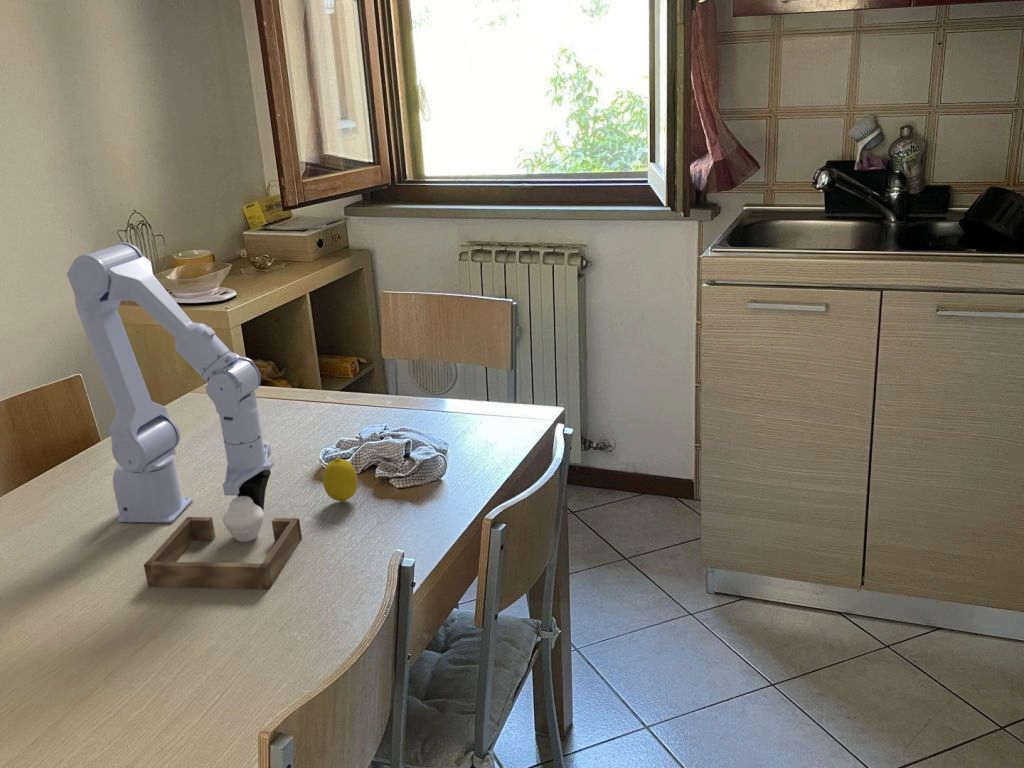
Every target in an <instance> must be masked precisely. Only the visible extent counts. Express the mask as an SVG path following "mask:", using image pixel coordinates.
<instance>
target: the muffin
mask: <svg viewBox="0 0 1024 768" xmlns="http://www.w3.org/2000/svg"><path fill="white" fill-rule="evenodd" d="M227 509H228V510H227V511H226V512H225V514H224V515H223V518H222V522H223V524H224V526H225V527H226V530H227V531H228V532H229V533H230V534H231V535H232V537H233V538H234V539H235V540H236V541H238V542H240V543H247V542H251V541H254V540H256V539H257V537H258V535H259V533H260V530H261V527H262V525H263V522H264V517H265V513H264V511H263V510H262V508H261V507H259V506H258V505H256V504H255V503H253V500H252V499H251V498H250V497H248V496H240V497H238V496H235V498H232V500H231V501H230V502H229V505H228V508H227Z"/></svg>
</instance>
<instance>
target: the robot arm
mask: <svg viewBox="0 0 1024 768" xmlns="http://www.w3.org/2000/svg"><path fill="white" fill-rule="evenodd" d="M66 276H67V279H68V282H69V284H70V286H71V289H72V292H73V294H74V302H75V308H76V311H77V313H78V316H79V320H80V322H81V324H82V326H83V330H84V331H85V334H86V338H87V339H88V342H89V345H90V347H91V349H92V353H93V355H94V357H95V361H96V363H97V366H98V368H99V371H100V374H101V376H102V378H103V381H104V384H105V387H106V389H107V391H108V393H109V396H110V399H111V402H112V404H113V407H114V409H115V416H114V418H113V420H112V422H111V424H110V427H109V430H108V433H109V436H110V439H111V453H112V456H113V458H114V460H115V462H116V463H117V466H116V467H115V469H114V472H113V477H112V487H113V491H114V496H115V501H116V505H117V510H118V514H119V517H118V518H117V521H118V523H170V524H171V523H173V522H174V521H175V520H176V519H177V518H178V517H179V516H180V515H181V514H182V513H183V511H184V510H186V508H188V506H189V505H190V504H191V503H192V502H193V500H194V499H193V497H183V496H182V493H181V488H180V487H181V486H180V484H179V483H180V482H179V478H178V473H177V468H176V462H175V456H176V455H177V451H176V448H177V446H178V445H179V443H180V441H181V440H180V439H181V432H180V430H179V426H177V424H176V423H175V421H173V419H172V418H171V416H170V415H169V413H168V411H167V408H166V406H164V405H162V404H159V403H157V402H155V401H152V399H151V398H152V397H151V396H150V393H149V390H148V387H147V385H146V383H145V379H144V377H143V374H142V371H141V369H140V366H139V364H138V361H137V358H136V356H135V354H134V350H133V348H132V345H131V342H130V339H129V337H128V334H127V332H126V329H125V325H124V324H123V322H122V318H121V316H120V313H119V310H118V308H119V306H120V304H121V303H122V301H124V302H135V303H136V304H137V305H138V306H140V307H141V309H143V310H144V312H146V313H147V314H148V315H149V316H151V318H153V319H154V320H155V321H156V322H157V323H159V325H161V326H162V327H163V328H164V329H165V330H166V331H167V332H168V333H169V334H170V335H172V336H173V337H174V348H175V351H176V352H178V353H179V355H180V356H181V357H182V358H183V359H184V360H185V361H186V362H187V363H188V364H189V365H190V366H191V367H192V368H193V369H194V371H196V373H197V374H198V375H200V377H201V378H202V379H203V380H204V381H205V382H206V383H207V386H205V387H204V388H205V392H206V394H207V396H208V397H209V399H210V400H211V401H212V402H213V403H214V406H215V411H216V413H218V416H219V421H220V427H221V433H222V438H223V444H224V449H225V456H226V462H227V465H226V471H225V480H224V482H223V483H222V490H223V494H224V496H230V497H231V496H235V497H240V496H248V497H250V498H251V499H252V500H253V503H255V504H256V505H258V506H259V507H261V508H262V510H263V512H264V509H265V498H266V497H265V496H266V490H267V486H268V481H269V480H270V479H269V478H270V476H271V475H272V473H271V469H272V468H273V467H274V464H275V463H274V461H273V460H269V457H270V456H271V455H272V451H271V446H270V445H271V444H269V443H264V440H263V434H262V427H261V421H260V414H259V408H258V401H257V395H256V392H255V391H256V390H258V388H259V387H260V385H261V379H262V378H261V377H262V376H261V373H260V370H259V368H258V366H257V365H256V364H255V362H254V361H253V360H252V359H251V358H248V357H245V356H242V355H241V356H240V355H239V354H238V353H237V352H236V353H235V352H232V351H231V350H230V349H229V348H228V346H226V344H224V342H223V341H222V340H221V339H220V338H219V337H218V336H217V335H216V332H215V331H214V329H212V327H209V326H208V325H207V324H204V323H200V322H193V321H192V320H191V319H190V317H189V316H188V315H187V314H186V313H185V311H184V310H183V309H182V308H181V307H180V305H179V304H178V303H177V302H176V300H174V298H173V297H172V296H171V294H170V293H169V292H168V291H167V290H166V288H165V287H164V286H163V285H162V283H161V282H160V281H159V280H158V279H157V278H156V276H155V275H154V272H153V267H152V262H151V261H150V260H149V259H148V258H147V257H146V256H144V254H143V253H142V251H141V250H140V249H139V248H138V247H137V246H136V245H134V244H133V243H130V242H124V241H123V242H119V243H117V244H115V245H113V246H110V247H107V248H103V249H100V250H98V251H95V252H91V253H88V254H81V255H78V256H77V257H76V258H75V259H74V260H73V262H72V264H71V265H70V266H69V269H68V271H67V273H66Z"/></svg>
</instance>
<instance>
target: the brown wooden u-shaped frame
mask: <svg viewBox="0 0 1024 768" xmlns="http://www.w3.org/2000/svg"><path fill="white" fill-rule="evenodd" d="M213 522H214V521H213V517H212V516H211V517H210V516H209V517H208V516H201V517H200V516H186V518H185V519H184V520H183V521H182V522H181V523H180V524H179V526H177V528H176V529H175V530H174V531H173V532H172V533H171V534H170V535H169V537H167V539H166V540H165V541H164V542H163V543H162V544H161V545H160V547H159V548H158V549H157V550H156V551H155V552H154V553H153V554H152V555H151V557H149V559H148V560H147V561H146V562H145V563H144V564H143V568H144V573H145V578H146V583H147V585H148V586H147V587H157V588H158V587H160V588H161V587H163V588H164V587H165V588H166V587H167V588H198V589H199V588H200V589H201V588H206V589H207V588H208V589H210V588H211V589H243V590H244V589H245V590H249V589H250V590H270V589H271V587H272V586H273V584H274V583H275V581H276V580H277V578H278V577H279V576H280V574H281V572H282V571H283V569H284V568H285V566H286V564H287V563H288V561H289V559H291V556H292V555H293V553H294V552H295V550H296V548H297V547H298V545H299V544H300V542H302V541H301V540H302V539H303V535H302V528H301V522H300V518H297V517H295V518H294V517H290V518H288V517H286V518H285V517H283V518H282V517H273V519H272V520H271V525H272V531H273V532H272V533H273V539H274V542H275V544H274V545H273V547H272V548H271V550H270V551H269V552H268V553H267V555H266V556H265V557H264V560H263V561H262V563H259V562H255V563H253V562H251V563H250V562H209V561H208V562H206V561H205V562H202V561H198V562H197V561H196V562H195V561H194V562H193V561H178V560H179V559H180V558H181V557H182V555H183V554H185V552H186V551H187V550H188V549H189V547H190V546H191V544H193V542H194V541H214V540H215V538H216V532H215V528H214V523H213Z"/></svg>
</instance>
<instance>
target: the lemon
mask: <svg viewBox="0 0 1024 768" xmlns="http://www.w3.org/2000/svg"><path fill="white" fill-rule="evenodd" d="M322 476H323V477H322V483H323V484H322V485H323V488H324V490H325V492H326V494H327V496H328V497H329V498H330V499H332V500H334V501H339V502H340V503H341V504H343V503H345V502H346V501H347V500H349V499H351V498H352V497H353V496H354V495H355V493H356V491H357V489H358V475H357V472H356V469H355V467H354V465H353V464H352V463H351V462H350V461H348V460H347V459H344V458H343V459H342V458H340V457H336V458H335V459H333V460H332V461H330V462H329V463H327V465H326V466H325V468H324V471H323V474H322Z"/></svg>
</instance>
